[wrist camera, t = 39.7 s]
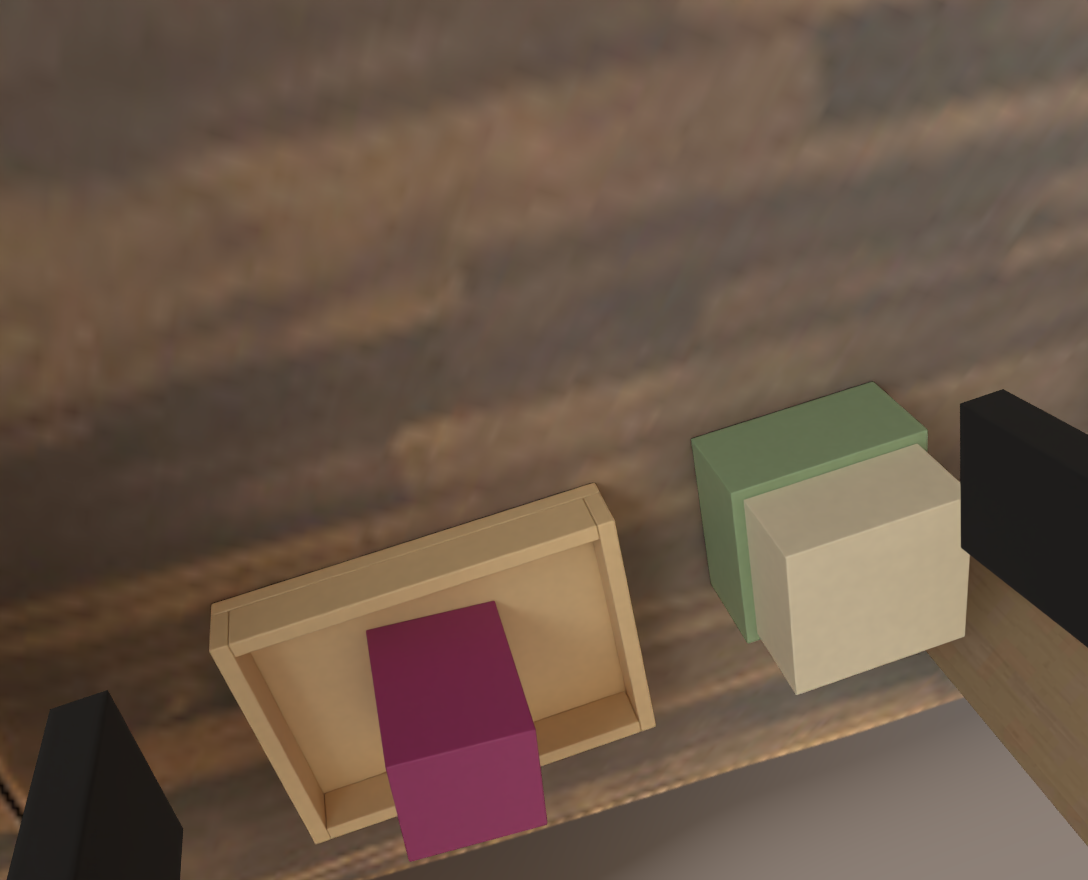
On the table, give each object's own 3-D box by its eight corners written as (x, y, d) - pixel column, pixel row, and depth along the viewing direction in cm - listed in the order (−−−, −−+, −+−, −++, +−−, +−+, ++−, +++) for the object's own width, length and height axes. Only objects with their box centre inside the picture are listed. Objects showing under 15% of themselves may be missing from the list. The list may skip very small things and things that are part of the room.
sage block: (710, 583, 50) (747, 644, 46) (690, 438, 45) (730, 493, 41) (874, 528, 51) (924, 584, 47) (873, 380, 46) (928, 429, 42)
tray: (312, 795, 50) (315, 845, 48) (210, 603, 43) (208, 651, 40) (637, 684, 52) (656, 727, 50) (594, 481, 45) (615, 520, 42)
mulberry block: (387, 720, 48) (409, 862, 41) (365, 629, 45) (385, 768, 38) (507, 690, 49) (548, 825, 42) (494, 599, 46) (536, 729, 39)
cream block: (756, 633, 46) (796, 695, 42) (742, 499, 41) (785, 557, 38) (914, 579, 47) (965, 636, 43) (917, 442, 42) (974, 494, 39)
